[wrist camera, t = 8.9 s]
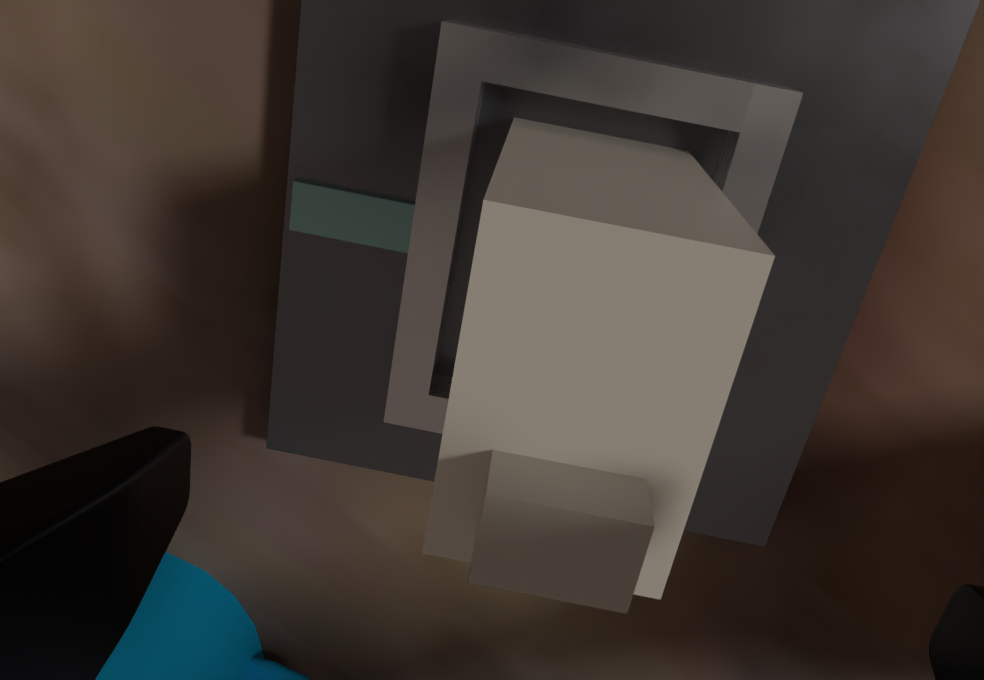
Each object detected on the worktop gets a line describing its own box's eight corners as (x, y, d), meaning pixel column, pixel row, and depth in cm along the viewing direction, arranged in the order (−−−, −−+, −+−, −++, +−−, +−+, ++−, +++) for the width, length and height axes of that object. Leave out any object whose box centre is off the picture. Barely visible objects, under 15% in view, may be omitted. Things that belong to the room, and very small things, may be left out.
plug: (688, 150, 18) (799, 285, 10) (624, 384, 21) (669, 654, 12) (514, 117, 18) (474, 222, 10) (470, 354, 21) (409, 603, 12)
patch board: (1200, -631, 14) (1312, -740, 11) (756, 524, 23) (775, 575, 21) (380, -794, 13) (349, -933, 11) (277, 429, 23) (251, 471, 21)
